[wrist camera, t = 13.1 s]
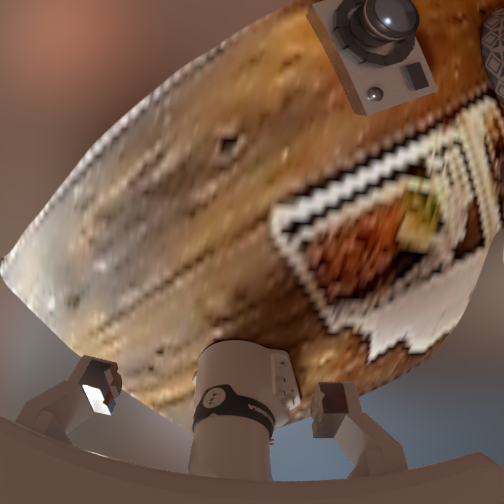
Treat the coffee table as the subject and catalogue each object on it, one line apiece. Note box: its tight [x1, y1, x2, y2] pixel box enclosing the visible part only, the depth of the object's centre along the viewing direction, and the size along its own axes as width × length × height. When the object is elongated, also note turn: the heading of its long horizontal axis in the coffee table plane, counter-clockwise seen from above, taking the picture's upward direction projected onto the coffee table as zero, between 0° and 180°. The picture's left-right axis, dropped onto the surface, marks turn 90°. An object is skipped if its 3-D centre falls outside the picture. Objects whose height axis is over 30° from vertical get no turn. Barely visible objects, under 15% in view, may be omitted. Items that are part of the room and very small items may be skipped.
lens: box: [350, 0, 419, 47], centre depth 23 cm, size 5×5×7 cm
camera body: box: [306, 0, 438, 116], centre depth 28 cm, size 14×10×7 cm
